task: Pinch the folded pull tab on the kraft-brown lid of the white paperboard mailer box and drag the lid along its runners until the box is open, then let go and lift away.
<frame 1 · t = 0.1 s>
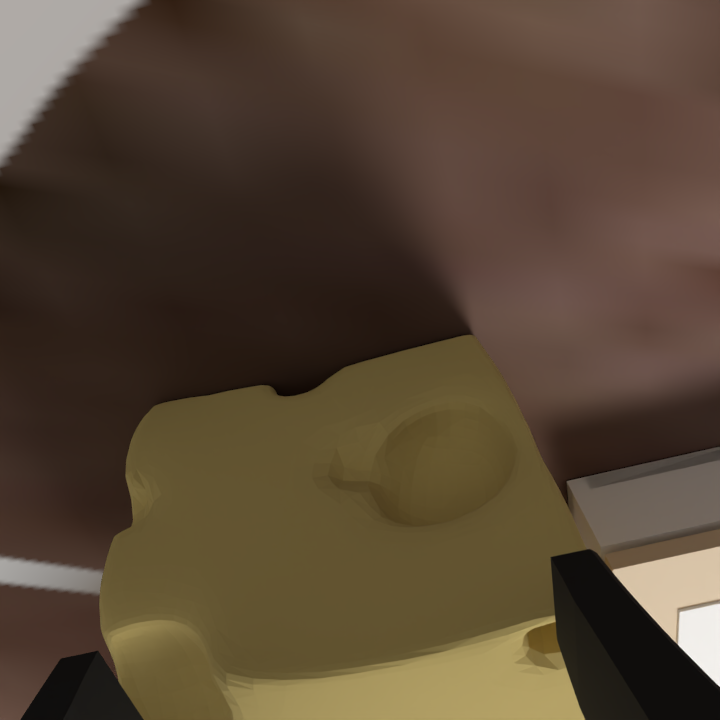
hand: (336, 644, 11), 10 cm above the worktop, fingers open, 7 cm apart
cheese: (355, 481, 22), on the worktop
mailer: (702, 575, 26), on the worktop
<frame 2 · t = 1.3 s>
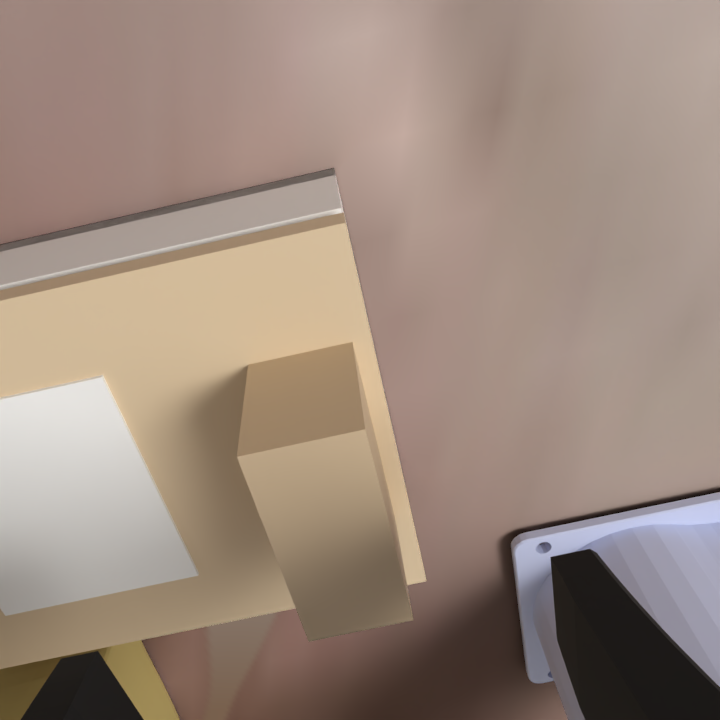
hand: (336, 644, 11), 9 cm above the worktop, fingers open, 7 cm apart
lid: (99, 531, 14), point 5 cm above the worktop, slide at 0.0 cm
cheese: (44, 696, 25), on the worktop
mailer: (145, 397, 18), on the worktop
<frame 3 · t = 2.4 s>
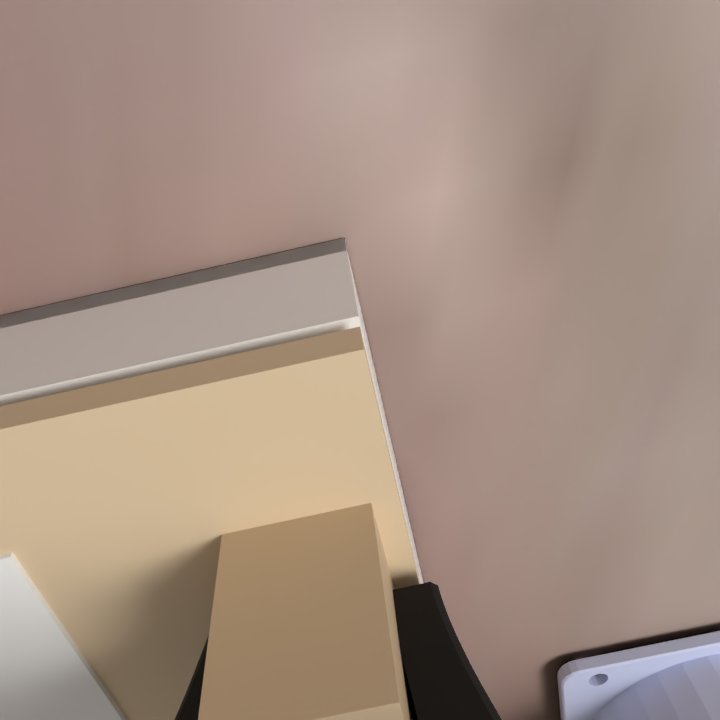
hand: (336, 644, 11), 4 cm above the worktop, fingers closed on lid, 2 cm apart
mailer: (99, 519, 14), on the worktop
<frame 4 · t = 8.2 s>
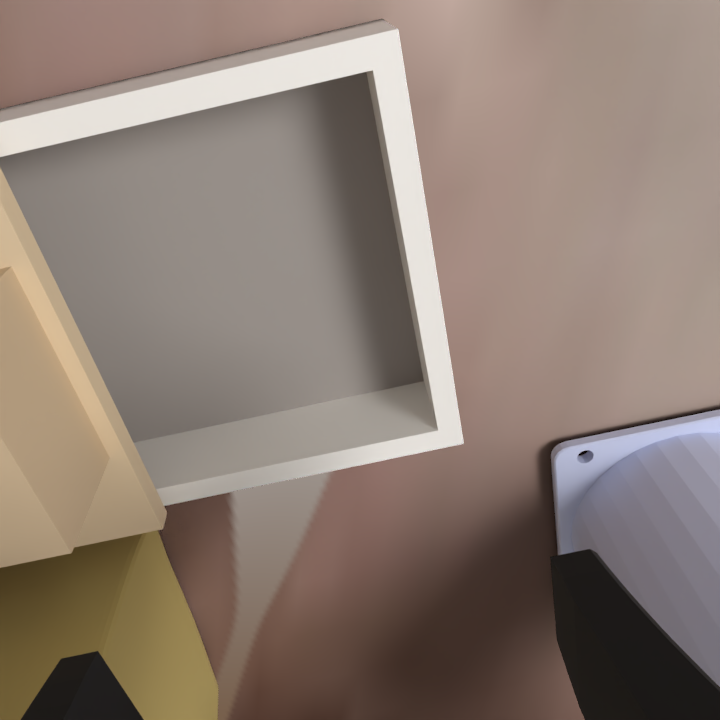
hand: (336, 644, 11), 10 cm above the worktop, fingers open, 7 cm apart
cheese: (66, 620, 25), on the worktop
mailer: (179, 280, 18), on the worktop
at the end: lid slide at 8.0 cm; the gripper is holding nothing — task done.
